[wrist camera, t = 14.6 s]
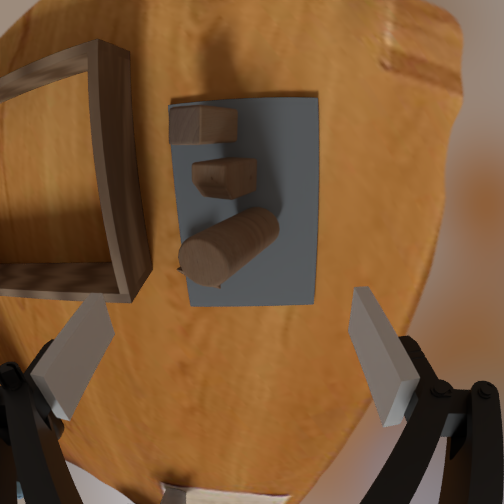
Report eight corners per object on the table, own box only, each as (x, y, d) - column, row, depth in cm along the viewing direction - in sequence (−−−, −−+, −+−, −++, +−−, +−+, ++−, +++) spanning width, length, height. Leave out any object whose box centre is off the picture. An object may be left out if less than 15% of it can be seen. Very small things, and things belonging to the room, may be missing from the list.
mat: (191, 303, 36) (190, 306, 36) (169, 105, 28) (168, 105, 27) (312, 301, 36) (313, 304, 35) (316, 98, 27) (317, 97, 26)
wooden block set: (203, 111, 29) (128, 108, 21) (285, 110, 26) (229, 98, 17) (205, 276, 36) (145, 319, 27) (276, 293, 33) (229, 349, 24)
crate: (-6, 269, 36) (-34, 292, 30) (-35, 114, 26) (-70, 121, 20) (152, 269, 35) (131, 303, 28) (129, 51, 25) (97, 38, 19)
